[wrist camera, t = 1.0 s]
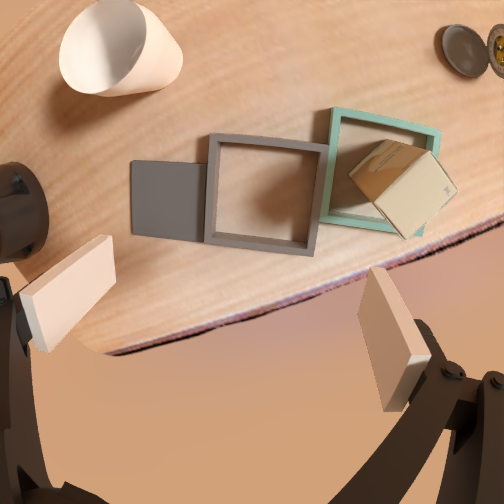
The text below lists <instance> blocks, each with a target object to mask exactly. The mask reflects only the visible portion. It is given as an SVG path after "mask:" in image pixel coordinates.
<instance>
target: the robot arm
mask: <svg viewBox="0 0 504 504" xmlns="http://www.w3.org/2000/svg"><path fill="white" fill-rule="evenodd" d="M48 227H49V215H48V207H47V202H46V198H45V195H44V192H43V189H42V187H41V185H40V183H39V181H38V180H37V178H36V176H35V175H34V174H33V173H32V171H31V170H30V169H28V168H27V167H26V166H24V165H23V164H21V163H18V162H9V163H6V164H2V165H0V264H1V263H9V262H16V261H22V260H25V259H27V258H29V257H31V256H32V255H34V254H36V253H37V252H38V251H39V250H40V249H41V248H42V247H43V245H44V243H45V241H46V238H47V234H48ZM115 283H116V275H115V265H114V255H113V243H112V235H103V234H99V235H98V236H96V237H95V238H94V239H92V240H91V241H89V242H88V243H86V244H85V245H83V246H82V247H80V248H79V249H77V250H76V251H75V252H73V253H72V254H70V255H69V256H67V257H66V258H65V259H63V260H62V261H60V262H59V263H58V264H56V265H55V266H54V267H52V268H51V269H49V270H48V271H47V272H45V273H43V274H41V275H39V276H38V277H37V278H35V279H34V280H33V281H31V282H30V283H29V284H28V285H26V286H25V287H23V288H22V289H21V290H20V291H18V292H17V293H16V294H14V295H13V294H12V290H11V286H10V283H9V279H8V278H7V277H3V276H0V504H109V503H107V502H106V501H104V500H103V499H101V498H100V497H98V496H97V495H95V494H92V493H90V492H88V491H85V490H83V489H81V488H78V487H76V486H74V485H72V484H70V483H68V482H66V481H65V482H64V484H63V486H62V488H54V487H53V486H52V485H51V483H50V481H49V478H48V475H47V472H46V467H45V463H44V458H43V454H42V449H41V444H40V438H39V433H38V426H37V420H36V413H35V405H34V396H33V386H32V375H31V358H30V348H29V345H28V342H29V341H30V340H31V339H32V338H33V340H34V344H35V346H36V349H38V350H40V351H43V352H46V353H48V354H49V353H50V352H51V351H52V350H53V349H54V348H55V347H56V346H57V344H58V343H59V342H60V341H61V340H62V339H63V338H64V337H65V336H66V334H67V333H68V332H69V331H70V330H71V329H72V328H73V327H74V326H75V325H76V324H77V323H78V321H79V320H80V319H81V318H82V317H83V316H84V315H85V314H86V313H87V312H88V311H89V310H90V309H91V308H92V307H93V306H94V304H95V303H96V302H97V301H98V300H99V299H100V298H101V297H102V296H103V295H104V294H105V293H106V292H107V291H108V290H109V289H110V288H111V287H112V286H113V285H114V284H115ZM358 318H359V321H360V325H361V328H362V332H363V335H364V338H365V342H366V345H367V349H368V353H369V356H370V360H371V363H372V367H373V371H374V375H375V379H376V383H377V387H378V390H379V395H380V399H381V403H382V407H383V411H384V412H398V411H399V412H400V411H402V410H403V409H404V407H405V405H406V404H407V402H408V401H409V404H410V405H409V407H408V408H407V410H406V411H405V412H404V414H403V415H402V417H401V418H400V419H399V421H398V422H397V424H396V425H395V426H394V428H393V429H392V430H391V432H390V433H389V434H388V436H387V437H386V438H385V439H384V441H383V442H382V443H381V445H380V446H379V447H378V448H377V450H376V451H375V452H374V453H373V454H372V456H371V457H370V458H369V459H368V461H367V462H366V463H365V464H364V465H363V466H362V468H361V469H360V470H359V471H358V472H357V473H356V474H355V475H354V477H353V478H352V479H351V480H350V481H349V482H348V483H347V484H346V485H345V486H344V487H343V488H342V490H341V491H340V492H339V493H338V494H337V495H336V496H335V497H334V498H333V499H332V500H331V501H330V502H329V503H328V504H399V502H400V501H401V499H402V498H403V497H404V495H405V494H406V492H407V490H408V489H409V488H410V486H411V485H412V483H413V482H414V480H415V479H416V477H417V475H418V474H419V472H420V470H421V469H422V467H423V465H424V464H425V462H426V460H427V459H428V457H429V455H430V453H431V452H432V450H433V448H434V446H435V444H436V443H437V441H438V439H439V437H440V435H441V433H442V431H443V429H449V430H452V431H451V437H450V443H449V449H448V454H447V459H446V464H445V469H444V473H443V478H442V482H441V486H440V490H439V494H438V498H437V501H436V504H504V375H503V374H502V373H499V372H497V371H489V372H487V373H486V374H485V375H484V377H483V379H482V380H476V379H472V378H467V377H466V373H465V371H464V370H463V369H462V367H461V366H459V365H458V364H456V363H454V362H451V361H447V359H446V357H445V355H444V353H443V352H442V350H441V348H440V346H439V344H438V343H437V342H436V339H435V337H434V336H433V333H432V332H431V330H430V328H429V327H428V326H427V325H426V324H425V323H424V322H423V321H422V320H419V319H413V318H412V316H411V314H410V313H409V311H408V309H407V307H406V305H405V303H404V302H403V300H402V298H401V296H400V295H399V293H398V291H397V289H396V287H395V286H394V284H393V282H392V280H391V279H390V277H389V275H388V273H387V272H386V270H385V268H379V267H370V269H369V273H368V277H367V281H366V285H365V289H364V292H363V297H362V300H361V304H360V307H359V311H358Z"/></svg>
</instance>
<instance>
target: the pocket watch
mask: <svg viewBox="0 0 504 504" xmlns="http://www.w3.org/2000/svg"><path fill="white" fill-rule="evenodd" d="M501 42H502V44H501ZM500 44H501V46H502V48H501V49H502V50H501V49H500V47H499V45H500ZM442 48H443V51H444V54H445V56H446V58H447V60H448V61H449V63H450V64H451V65H452V67H453V68H455V69H456V70H457V71H458V72H459V73H461V74H463V75H465V76H468V77H477V76H480V75H482V74H483V73H484V72H485V71H486V69H487V67H488V63H490V65H491V67H492V69H493V70H494V72H495V73H496V74H497V75H498V76H499V77H501V78H503V79H504V62H502V61H504V24H497V25H495V26H494V27H493V28H492V29H491V31H490V33H489V36H488V40H487V46H485V44H484V42H483V40H482V39H481V37H480V36H479V35H478V34H477V33H476V32H475V31H474V30H472V29H471V28H469V27H467V26H465V25H461V24H454V25H451V26H450V27H448V28H447V29H445V31H444V33H443V36H442ZM502 58H503V60H502Z"/></svg>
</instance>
